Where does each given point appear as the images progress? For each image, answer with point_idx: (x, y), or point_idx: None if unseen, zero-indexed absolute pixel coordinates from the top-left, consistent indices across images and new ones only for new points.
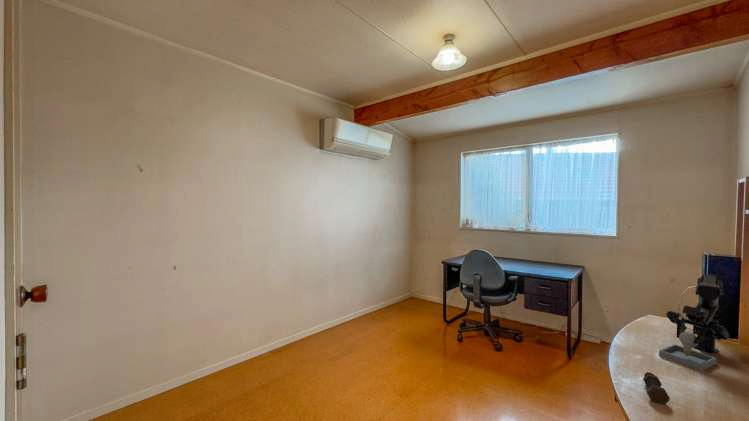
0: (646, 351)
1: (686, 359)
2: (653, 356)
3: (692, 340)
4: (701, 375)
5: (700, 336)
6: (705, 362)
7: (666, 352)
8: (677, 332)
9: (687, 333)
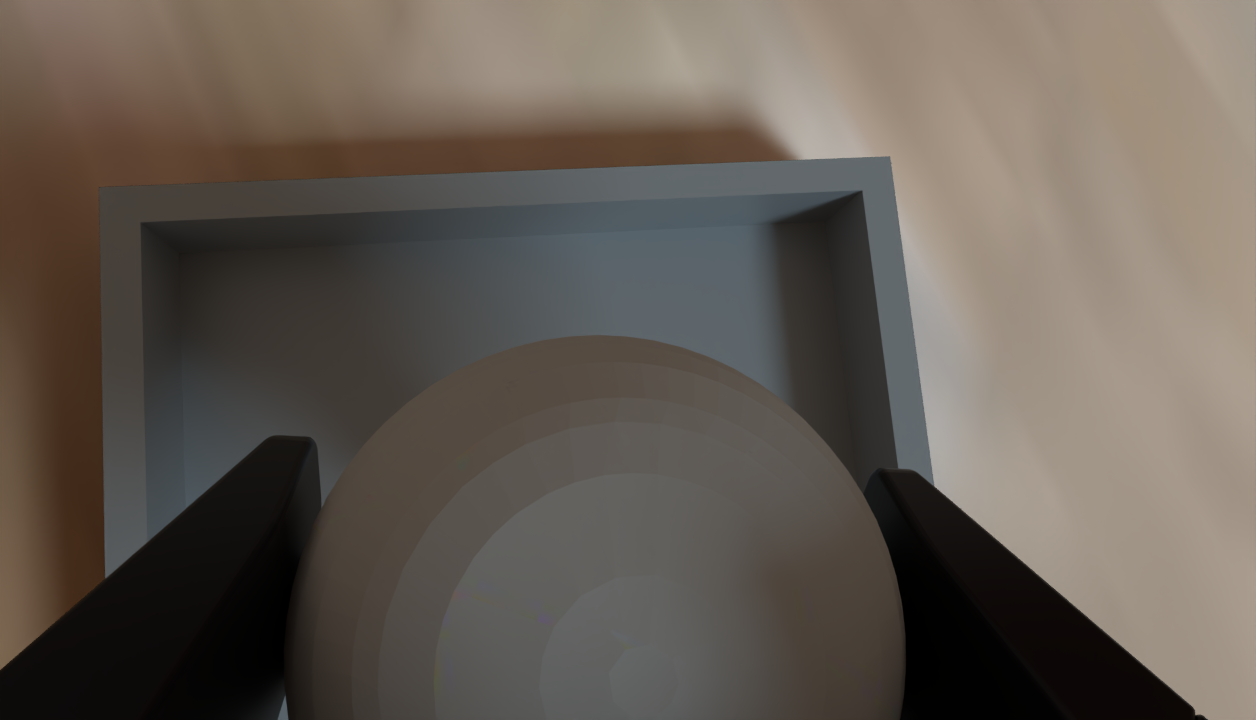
0: (1034, 185)
1: (395, 201)
2: (857, 76)
3: (360, 455)
4: (73, 52)
5: (8, 685)
6: (117, 450)
7: (764, 174)
8: (1004, 569)
9: (600, 499)
